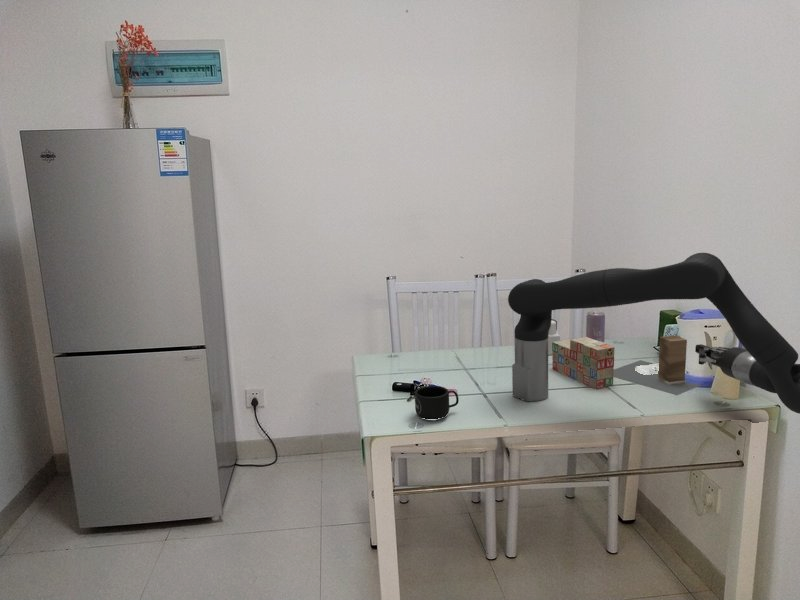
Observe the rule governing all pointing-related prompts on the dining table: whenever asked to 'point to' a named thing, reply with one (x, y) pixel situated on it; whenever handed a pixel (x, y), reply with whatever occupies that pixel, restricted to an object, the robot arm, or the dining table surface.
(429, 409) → the mug
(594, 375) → the stack of blocks
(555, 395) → the dining table surface
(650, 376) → the mat
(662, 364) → the wooden block
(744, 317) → the robot arm
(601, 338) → the beverage can
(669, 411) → the dining table surface
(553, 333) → the medicine bottle
